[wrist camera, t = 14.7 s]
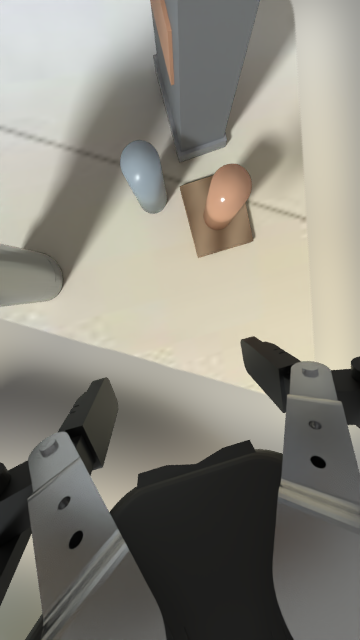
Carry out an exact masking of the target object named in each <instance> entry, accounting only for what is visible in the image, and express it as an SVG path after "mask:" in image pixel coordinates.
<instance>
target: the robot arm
mask: <svg viewBox="0 0 360 640" xmlns="http://www.w3.org/2000/svg"><path fill="white" fill-rule="evenodd" d="M62 284H63V276H62V272H61V269H60V267H59V265H58V264H57V263H56V261H55V260H53V259H52V258H51V257H50V256H48V255H46V254H43V253H40V252H35V251H31V250H26V249H22V248H18V247H13V246H9V245H4V244H0V307H2V306H10V305H19V304H27V303H36V302H44V301H49V300H51V299H53V298H55V297H56V296H57V295H58V294H59V292H60V291H61V288H62ZM241 348H242V354H243V360H244V365H245V368H246V370H247V372H248V374H249V375H250V376H251V377H252V378H253V379H254V380H255V381H256V383H257V384H258V385H259V386H260V387H261V388H262V389H263V391H264V392H265V393H266V394H267V395H268V396H269V397H270V398H271V400H272V401H273V402H274V403H275V404H276V405H277V406H278V407H279V409H280V410H281V411H282V412H283V413H285V412H286V420H285V434H284V448H283V454H282V453H278V452H275V451H270V450H263V449H254V447H253V445H252V444H251V442H250V440H247V441H244V442H240V443H237V444H234V445H231V446H227V447H225V448H222V449H221V450H219V451H217V452H215V453H214V454H212V455H210V456H209V457H207V458H206V459H204V460H203V461H201V462H199V463H197V464H191V465H166V466H163V467H160V468H157V469H153V470H150V471H147V472H143V473H140V474H138V483H137V487H135V488H134V489H132V490H131V491H130V492H128V493H127V494H126V495H125V496H124V497H123V498H122V499H121V500H120V501H119V502H118V503H117V504H116V505H115V506H114V507H113V509H112V510H111V511H110V512H109V511H108V509H107V507H106V505H105V504H104V501H103V500H102V498H101V496H100V494H99V492H98V490H97V488H96V486H95V484H94V483H93V481H92V479H91V477H90V476H91V472H92V470H96V469H98V468H102V467H103V465H104V461H105V457H106V454H107V450H108V446H109V443H110V439H111V435H112V431H113V428H114V424H115V420H116V416H117V413H118V402H117V398H116V396H115V393H114V391H113V388H112V386H111V384H110V381H109V379H108V378H102V379H99V380H95V381H93V382H92V383H91V385H90V387H89V388H88V390H87V392H85V393H84V394H83V395H82V396H80V397H79V398H78V400H77V401H76V403H75V404H74V406H73V408H72V409H71V411H70V414H68V416H67V418H66V419H65V421H64V423H63V424H62V426H61V428H60V429H59V431H58V432H57V433H55V434H53V435H51V436H49V437H47V438H46V439H44V440H43V441H42V442H40V443H39V444H38V445H37V446H36V447H35V448H34V449H33V451H32V452H31V454H30V455H29V458H28V461H26V462H24V463H22V464H20V465H18V466H16V467H14V468H12V469H10V470H7V469H6V467H5V466H4V464H3V463H0V605H1V603H2V601H3V599H4V596H5V594H6V592H7V589H8V587H9V584H10V582H11V580H12V577H13V575H14V573H15V570H16V568H17V566H18V563H19V561H20V559H21V557H22V554H23V552H24V550H25V547H26V545H27V543H28V541H29V538H30V536H31V534H32V538H33V546H34V553H35V560H36V568H37V576H38V583H39V590H40V598H41V606H42V615H41V616H40V618H39V619H38V621H37V623H36V624H35V625H34V627H33V629H32V630H31V632H30V633H29V635H28V636H27V638H26V639H25V640H360V473H359V469H358V465H357V461H356V457H355V453H354V449H353V445H352V441H351V438H350V433H349V429H348V425H356V426H357V427H359V428H360V357H356V358H354V359H353V360H352V361H351V369H343V370H330V369H329V368H328V367H327V366H325V365H323V364H321V363H317V362H312V361H303V362H301V361H300V360H298V359H297V358H295V357H293V356H292V355H290V354H289V353H287V352H285V351H284V350H282V349H280V348H279V347H278V346H276V345H275V344H272V343H268V342H262V341H260V340H259V339H257V338H256V337H254V336H253V337H249V338H246V339H242V340H241Z"/></svg>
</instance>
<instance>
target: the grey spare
mask: <svg viewBox="0 0 360 640" xmlns="http://www.w3.org/2000/svg"><path fill="white" fill-rule="evenodd" d="M120 165H121V170H122V173H123V175H124V176H125V178H126V180H127V182H128V184H129V185H130V187H131V189H132V191H133V193H134V194H135V196H136V198H137V200H138V202H139V203H140V205H141V207H142V208H143V209H144V210H145V211H146V212H148V213H153V214H154V213H158V212H160V211H161V210H163V208H164V207H165V205H166V202H167V194H166V189H165V184H164V179H163V174H162V169H161V164H160V159H159V155H158V152H157V151H156V149H155V148H154V146H152V145H151V144H150V143H148V142H146V141H142V140H137V141H133V142H131V143H129V144H128V145H127V146H126V147H125V149H124V150H123V152H122V155H121V159H120Z"/></svg>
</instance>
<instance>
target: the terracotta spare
mask: <svg viewBox="0 0 360 640" xmlns="http://www.w3.org/2000/svg"><path fill="white" fill-rule="evenodd" d="M251 188H252V183H251V178H250V175H249V173H248V172H247V170H246V169H245V168H243V167H242V166H240V165H238V164H227V165H224V166H222V167H221V168H219V169H218V170H217V171H216V173H215V174H214V176H213V178H212V180H211V184H210V188H209V192H208V196H207V200H206V204H205V208H204V212H203V218H204V221H205V223H206V225H207V226H208V227H209V228H211V229H213V230H221V229H224V228H225V227H227V226H228V225H229V223H230V222H231V221H232V219H233V218H234V217H235V215H236V214H237V213H238V211H239V210H240V209H241V207H242V206H243V205H244V203H245V202H246V201H247V199H248V197H249V195H250V193H251Z"/></svg>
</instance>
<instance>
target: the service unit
mask: <svg viewBox="0 0 360 640" xmlns="http://www.w3.org/2000/svg"><path fill="white" fill-rule="evenodd" d="M150 1H151V9H152V17H153V26H154V34H155V43H156V51H157V54H156V55H153V58H154V65H155V70H156V74H157V78H158V81H159V85H160V89H161V93H162V97H163V101H164V105H165V109H166V113H167V117H168V120H169V124H170V128H171V132H172V136H173V140H174V144H175V148H176V152H177V156H178V160H179V162H182V161H185V160H188V159H191V158H194V157H197V156H200V155H203V154H205V153H208V152H211V151H214V150H217V149H220V148H223V147H225V145H226V142H227V138H226V133H225V129H226V126H227V122H228V118H229V114H230V111H231V107H232V103H233V99H234V96H235V92H236V88H237V84H238V81H239V77H240V73H241V69H242V66H243V62H244V58H245V54H246V50H247V47H248V43H249V39H250V35H251V32H252V28H253V24H254V20H255V17H256V13H257V9H258V5H259V2H260V0H150Z"/></svg>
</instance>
